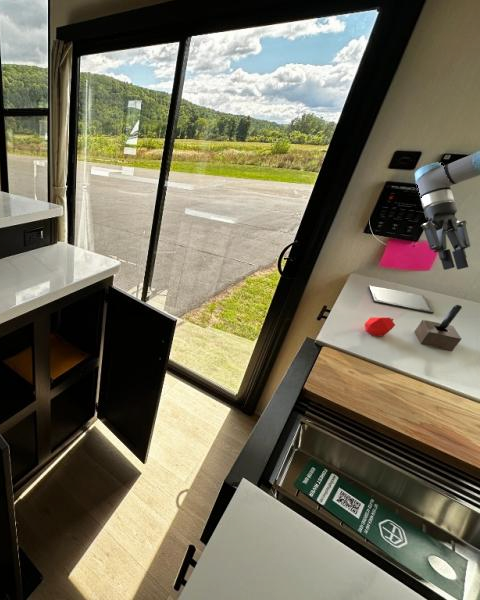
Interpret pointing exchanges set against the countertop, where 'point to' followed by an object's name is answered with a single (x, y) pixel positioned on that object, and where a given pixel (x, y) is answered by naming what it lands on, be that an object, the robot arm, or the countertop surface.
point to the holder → (437, 335)
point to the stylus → (449, 317)
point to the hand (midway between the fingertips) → (455, 268)
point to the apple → (379, 326)
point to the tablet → (400, 299)
